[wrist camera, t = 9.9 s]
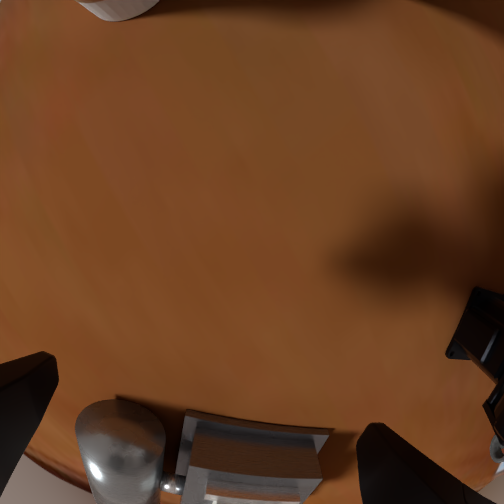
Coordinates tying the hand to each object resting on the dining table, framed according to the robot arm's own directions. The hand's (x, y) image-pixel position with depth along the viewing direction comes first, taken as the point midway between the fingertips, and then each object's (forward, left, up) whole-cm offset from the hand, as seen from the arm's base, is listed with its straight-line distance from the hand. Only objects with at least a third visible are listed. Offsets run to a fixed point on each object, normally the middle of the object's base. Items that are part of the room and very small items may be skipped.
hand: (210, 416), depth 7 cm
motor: (-1, +19, -12) cm, 23 cm away
